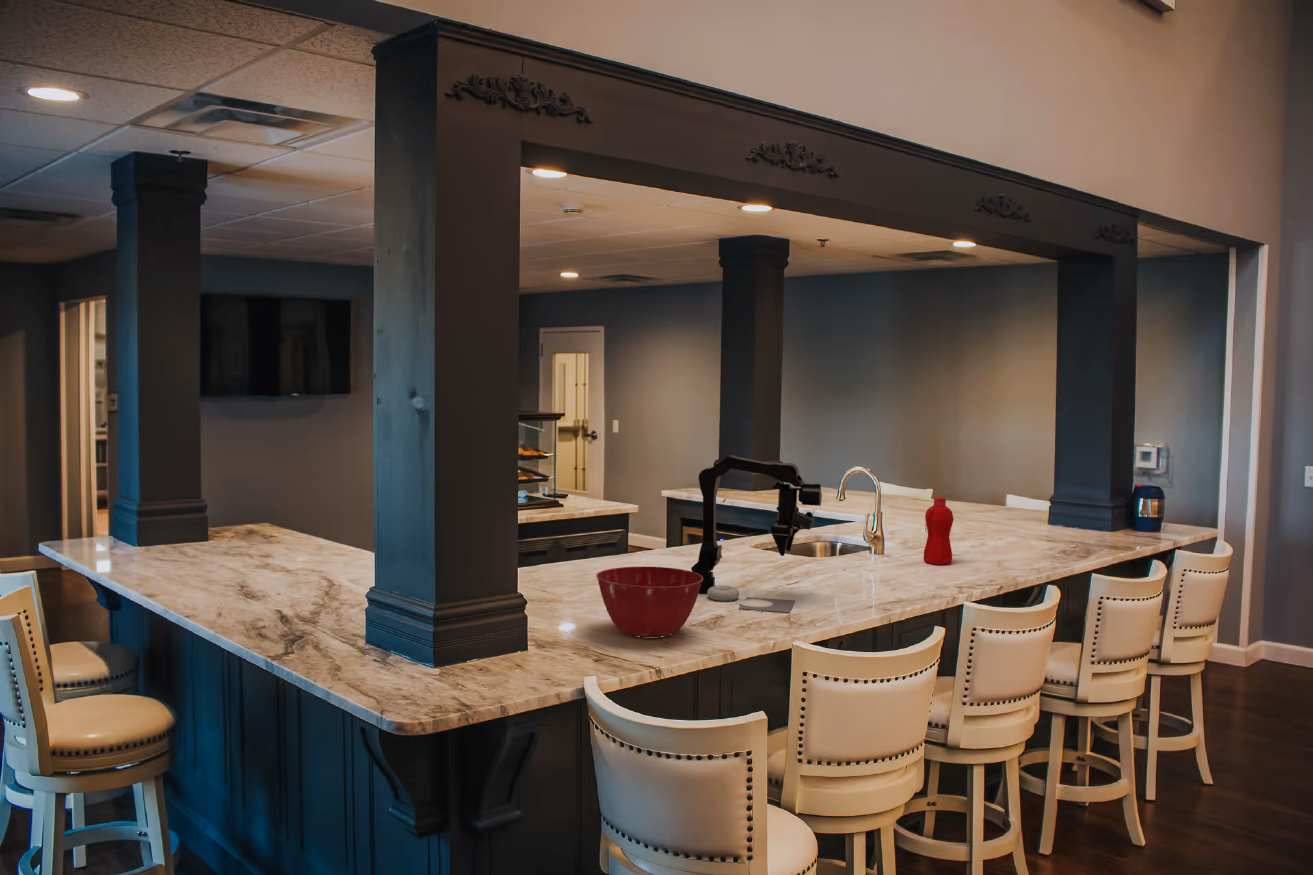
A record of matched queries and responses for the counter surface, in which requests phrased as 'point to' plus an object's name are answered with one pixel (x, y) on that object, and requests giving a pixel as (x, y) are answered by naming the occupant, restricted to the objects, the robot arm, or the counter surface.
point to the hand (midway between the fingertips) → (785, 553)
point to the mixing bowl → (649, 598)
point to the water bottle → (938, 533)
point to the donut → (723, 593)
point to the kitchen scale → (767, 604)
